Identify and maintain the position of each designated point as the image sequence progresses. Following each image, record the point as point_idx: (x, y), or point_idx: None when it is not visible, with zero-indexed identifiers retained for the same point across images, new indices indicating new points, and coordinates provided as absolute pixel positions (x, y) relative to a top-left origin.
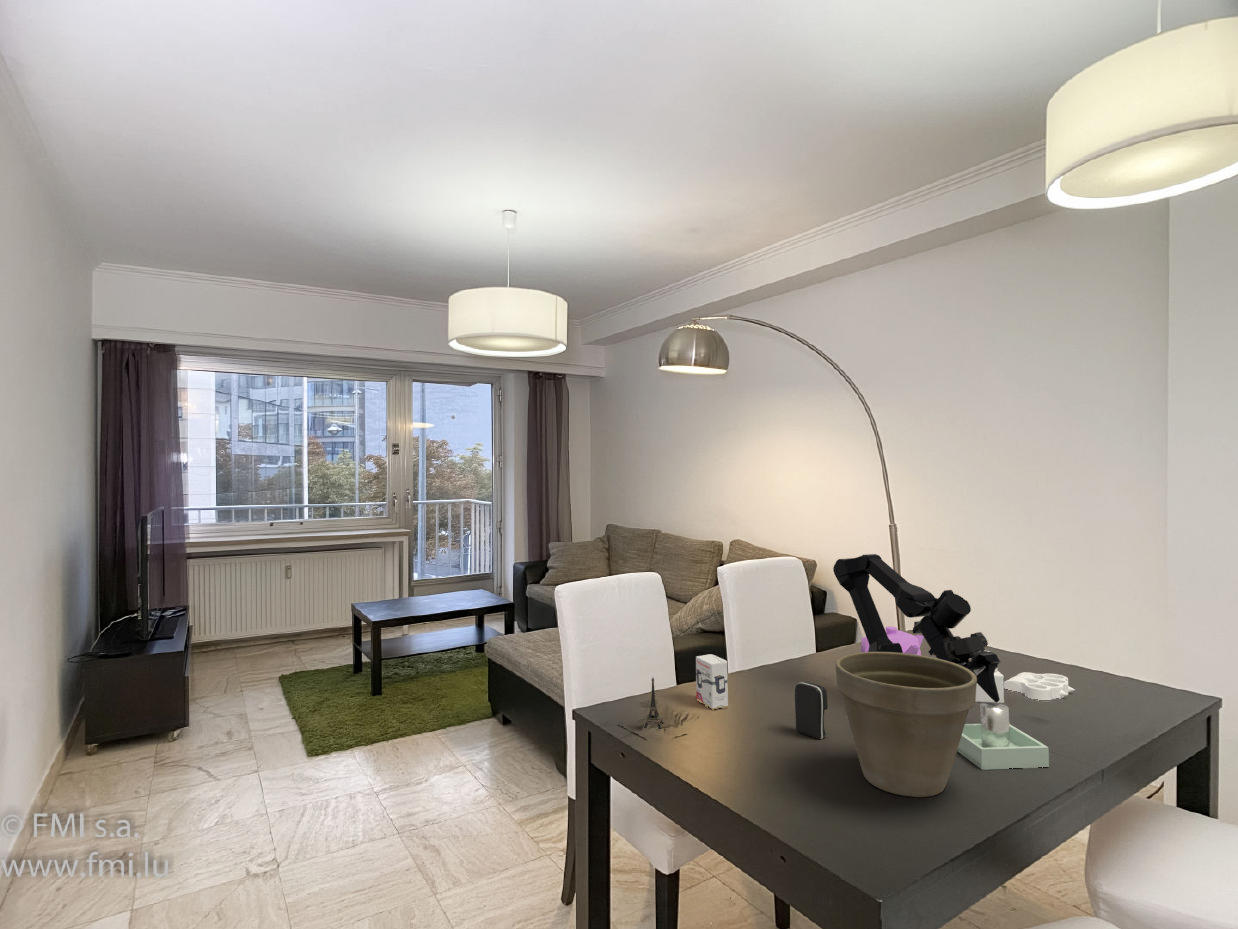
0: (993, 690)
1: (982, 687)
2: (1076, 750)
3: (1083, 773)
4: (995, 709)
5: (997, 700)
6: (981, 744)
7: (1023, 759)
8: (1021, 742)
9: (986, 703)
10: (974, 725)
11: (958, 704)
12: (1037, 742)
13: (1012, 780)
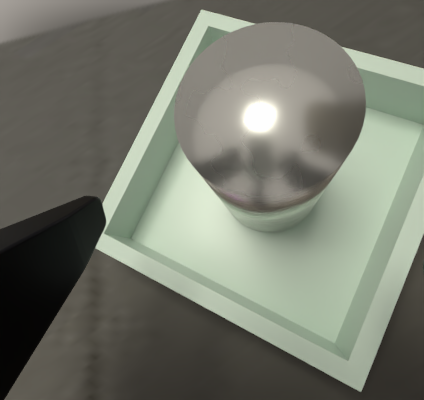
0: (45, 236)
1: (12, 369)
2: (30, 109)
3: (170, 4)
4: (319, 57)
5: (100, 205)
6: (307, 214)
7: None
8: (163, 151)
9: (255, 173)
10: (233, 300)
11: None
12: (189, 53)
13: (407, 34)
